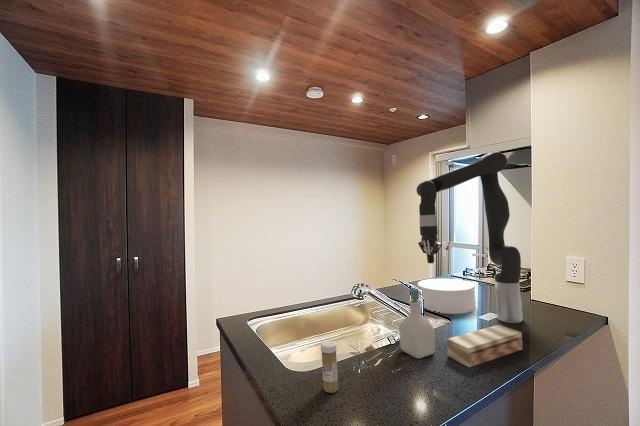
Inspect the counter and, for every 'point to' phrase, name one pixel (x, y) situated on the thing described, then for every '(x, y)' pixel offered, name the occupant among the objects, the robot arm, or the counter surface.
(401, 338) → the soap bottle
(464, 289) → the plate stack
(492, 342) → the low box
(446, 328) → the counter surface
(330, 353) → the sprinkles bottle
